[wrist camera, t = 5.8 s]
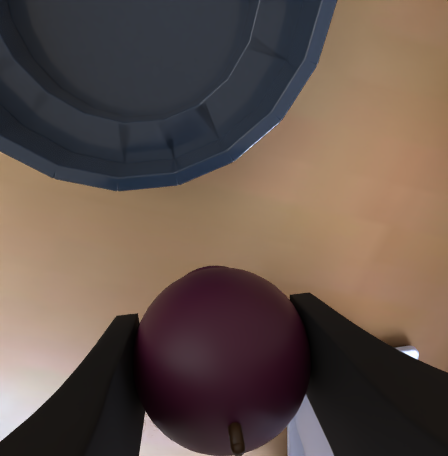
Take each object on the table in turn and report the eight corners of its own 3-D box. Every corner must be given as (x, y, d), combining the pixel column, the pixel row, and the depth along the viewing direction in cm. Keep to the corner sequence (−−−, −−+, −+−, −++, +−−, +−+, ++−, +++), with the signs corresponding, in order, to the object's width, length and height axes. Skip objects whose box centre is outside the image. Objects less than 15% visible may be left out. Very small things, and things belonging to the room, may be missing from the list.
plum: (283, 353, 14) (346, 511, 9) (149, 371, 14) (137, 548, 9) (282, 231, 12) (360, 343, 7) (128, 247, 12) (97, 378, 7)
